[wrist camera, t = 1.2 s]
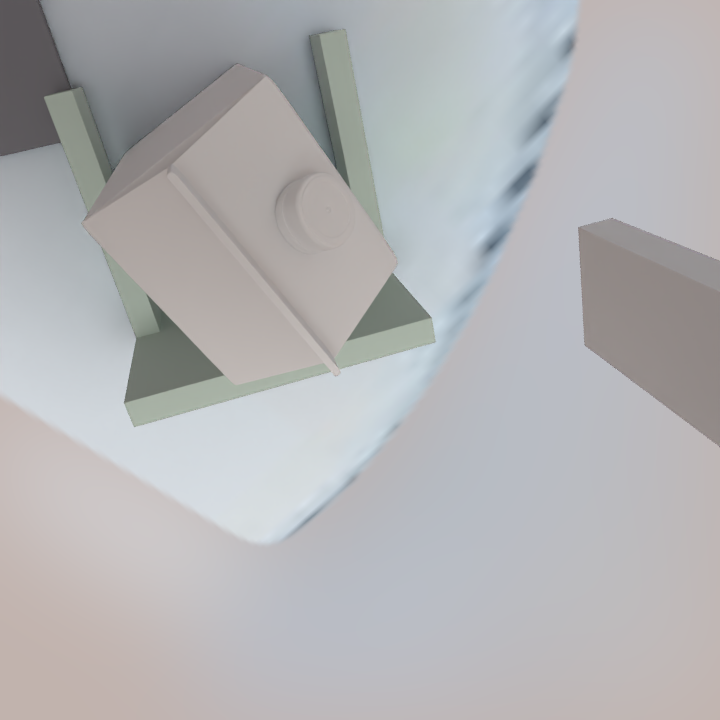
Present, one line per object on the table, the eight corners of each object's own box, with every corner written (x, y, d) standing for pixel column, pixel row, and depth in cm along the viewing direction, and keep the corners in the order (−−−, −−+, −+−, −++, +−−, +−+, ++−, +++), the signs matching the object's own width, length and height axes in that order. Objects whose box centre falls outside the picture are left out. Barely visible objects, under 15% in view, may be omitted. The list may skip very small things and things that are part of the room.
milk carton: (218, 262, 37) (241, 447, 20) (123, 152, 33) (55, 262, 17) (323, 181, 36) (439, 300, 19) (237, 61, 33) (286, 79, 16)
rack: (56, 92, 32) (3, 110, 23) (333, 30, 33) (384, 25, 24) (147, 336, 37) (134, 427, 29) (380, 274, 39) (435, 342, 30)
